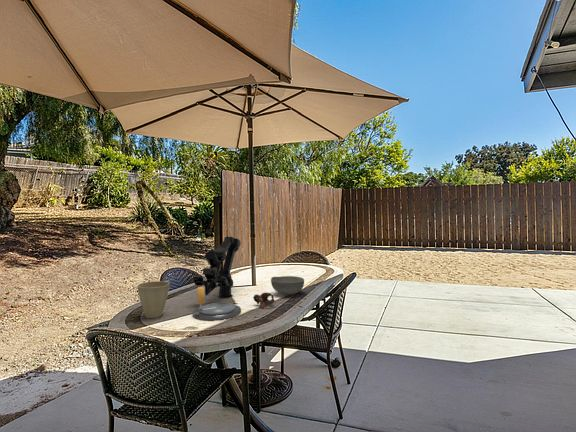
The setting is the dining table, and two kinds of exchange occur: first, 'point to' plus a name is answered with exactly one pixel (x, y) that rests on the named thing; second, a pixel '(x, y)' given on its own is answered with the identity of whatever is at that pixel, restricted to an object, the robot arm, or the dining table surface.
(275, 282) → the bowl
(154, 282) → the plant pot
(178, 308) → the dining table surface
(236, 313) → the dial plate
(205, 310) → the dial
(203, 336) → the dining table surface
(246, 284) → the dining table surface
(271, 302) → the brown animal figurine
